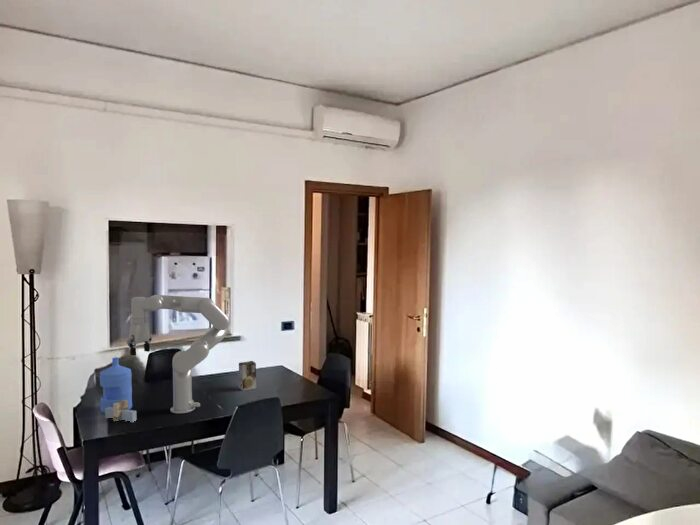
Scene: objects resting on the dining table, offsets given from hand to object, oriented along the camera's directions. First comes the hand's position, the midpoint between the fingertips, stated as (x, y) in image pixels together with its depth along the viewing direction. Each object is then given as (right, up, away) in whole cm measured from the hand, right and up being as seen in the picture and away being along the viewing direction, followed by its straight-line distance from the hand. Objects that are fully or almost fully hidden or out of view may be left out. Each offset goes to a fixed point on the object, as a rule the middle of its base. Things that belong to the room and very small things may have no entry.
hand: (140, 353), depth 265 cm
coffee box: (+47, -30, +47) cm, 73 cm away
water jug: (-17, -32, +9) cm, 37 cm away
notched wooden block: (-7, -33, -6) cm, 34 cm away
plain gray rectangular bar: (-7, -33, -6) cm, 34 cm away
